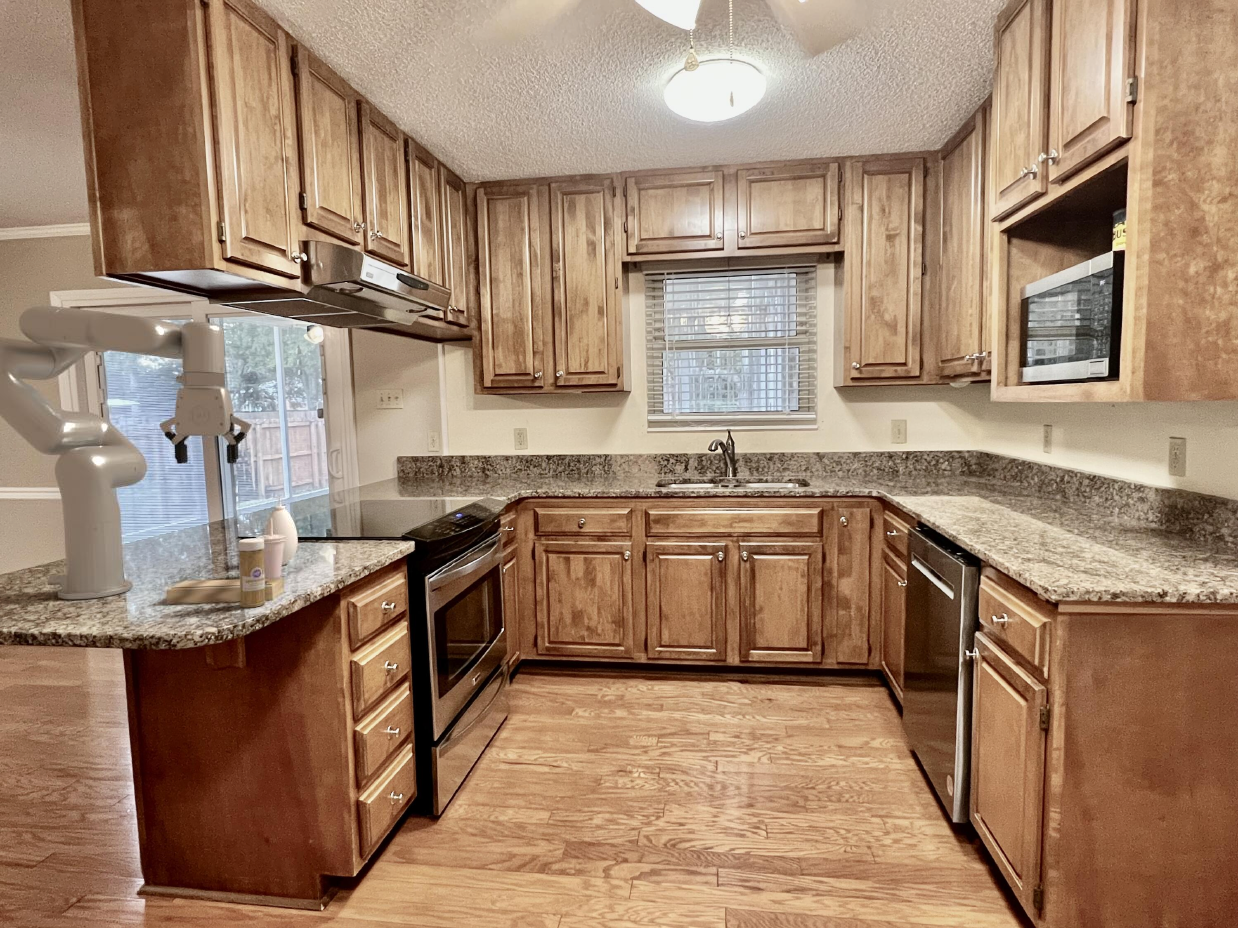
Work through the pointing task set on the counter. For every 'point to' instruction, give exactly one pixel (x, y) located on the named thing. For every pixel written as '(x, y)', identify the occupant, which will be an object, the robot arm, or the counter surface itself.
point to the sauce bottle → (284, 531)
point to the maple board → (218, 591)
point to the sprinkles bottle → (251, 572)
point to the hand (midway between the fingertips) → (207, 463)
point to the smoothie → (272, 553)
